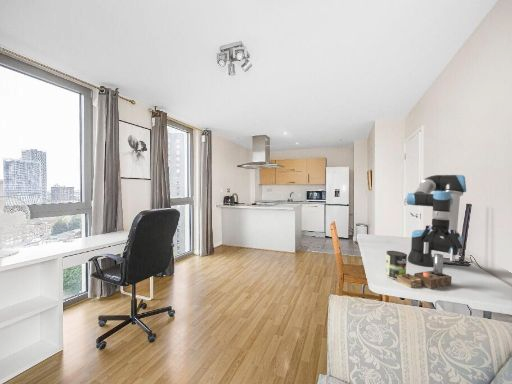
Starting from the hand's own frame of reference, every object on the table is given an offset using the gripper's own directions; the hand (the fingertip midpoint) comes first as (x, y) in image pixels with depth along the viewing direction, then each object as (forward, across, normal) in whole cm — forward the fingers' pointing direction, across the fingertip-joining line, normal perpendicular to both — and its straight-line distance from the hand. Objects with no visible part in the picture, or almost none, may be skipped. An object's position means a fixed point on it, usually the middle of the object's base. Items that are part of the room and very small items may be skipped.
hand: (438, 256), depth 126 cm
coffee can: (+15, -14, -15) cm, 25 cm away
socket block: (+15, 0, -4) cm, 15 cm away
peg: (+15, 0, 0) cm, 15 cm away
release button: (+13, 0, -9) cm, 16 cm away
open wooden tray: (+15, -4, -16) cm, 22 cm away
